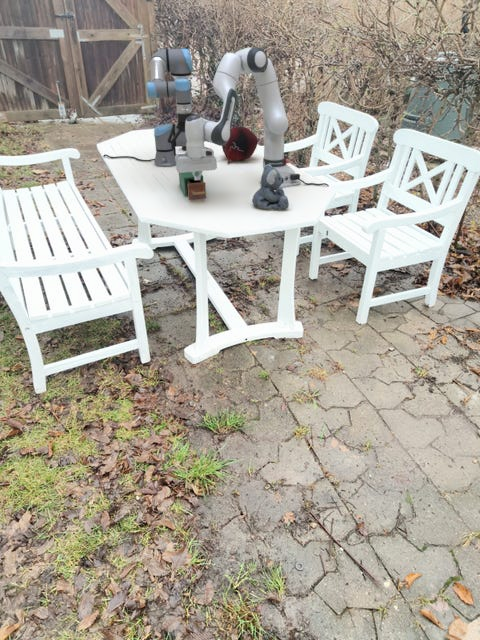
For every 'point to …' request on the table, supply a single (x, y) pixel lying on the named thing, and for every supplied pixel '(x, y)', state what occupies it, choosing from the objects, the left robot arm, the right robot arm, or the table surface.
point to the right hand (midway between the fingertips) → (197, 179)
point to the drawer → (195, 189)
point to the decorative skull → (240, 144)
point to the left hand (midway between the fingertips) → (187, 154)
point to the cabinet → (186, 176)
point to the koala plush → (270, 191)
